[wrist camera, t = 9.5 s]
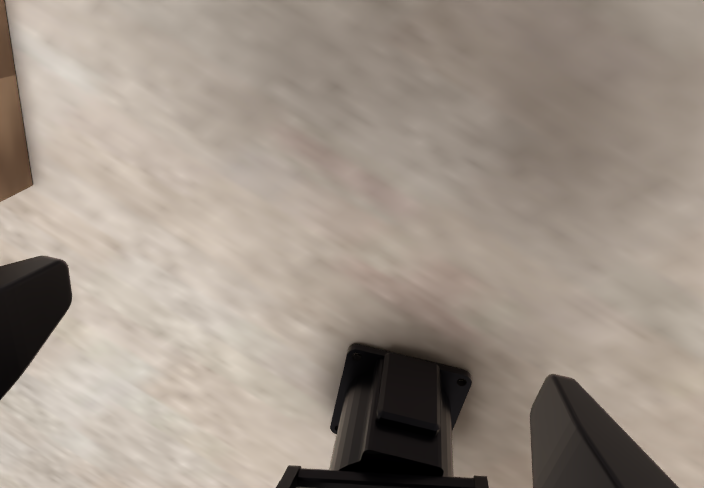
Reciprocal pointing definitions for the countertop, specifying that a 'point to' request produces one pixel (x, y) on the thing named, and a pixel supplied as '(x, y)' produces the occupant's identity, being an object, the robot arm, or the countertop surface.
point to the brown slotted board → (11, 122)
